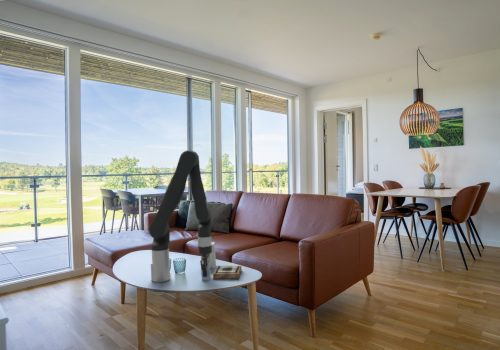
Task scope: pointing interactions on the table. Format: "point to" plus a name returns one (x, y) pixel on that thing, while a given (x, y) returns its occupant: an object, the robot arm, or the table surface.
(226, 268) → the walnut box
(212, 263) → the skincare box
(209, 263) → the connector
